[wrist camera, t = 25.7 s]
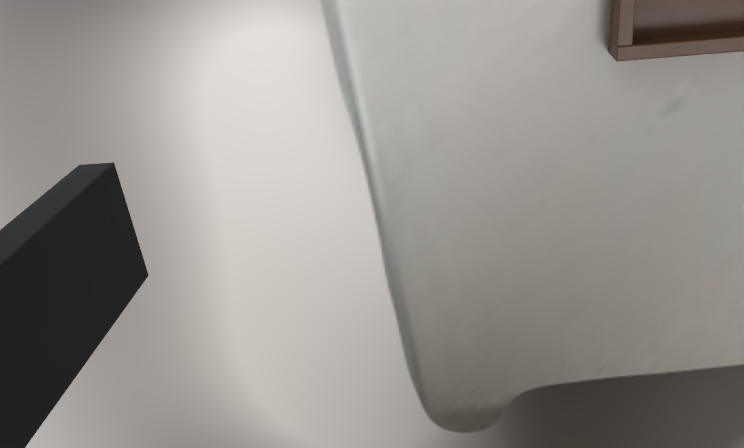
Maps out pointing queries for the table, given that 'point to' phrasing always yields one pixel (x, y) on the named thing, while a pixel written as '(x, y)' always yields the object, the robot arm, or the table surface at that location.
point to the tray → (675, 28)
